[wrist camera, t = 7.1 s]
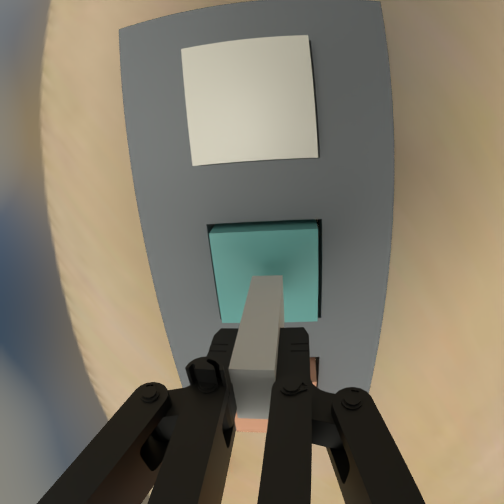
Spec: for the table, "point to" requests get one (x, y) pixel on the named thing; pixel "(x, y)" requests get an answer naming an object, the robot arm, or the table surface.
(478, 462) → the table surface
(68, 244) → the table surface
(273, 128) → the cream button
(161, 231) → the panel
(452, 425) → the table surface
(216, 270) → the teal button
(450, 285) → the table surface
